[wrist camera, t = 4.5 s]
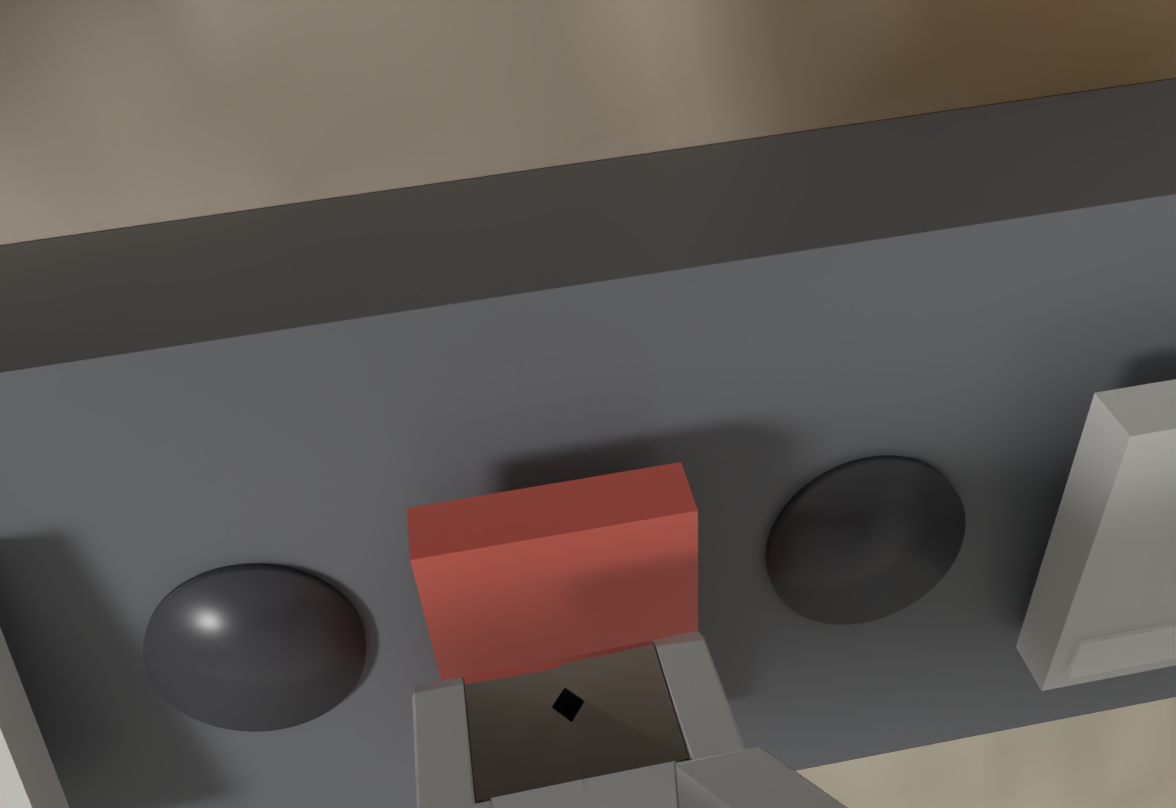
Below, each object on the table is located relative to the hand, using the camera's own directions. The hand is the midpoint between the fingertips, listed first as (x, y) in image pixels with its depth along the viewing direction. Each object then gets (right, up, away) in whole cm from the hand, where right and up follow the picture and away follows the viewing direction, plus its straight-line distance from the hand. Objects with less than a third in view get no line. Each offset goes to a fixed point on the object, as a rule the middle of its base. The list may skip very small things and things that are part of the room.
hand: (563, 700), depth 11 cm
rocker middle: (0, 0, +3) cm, 3 cm away
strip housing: (-3, +2, +7) cm, 7 cm away
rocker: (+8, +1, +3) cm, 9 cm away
